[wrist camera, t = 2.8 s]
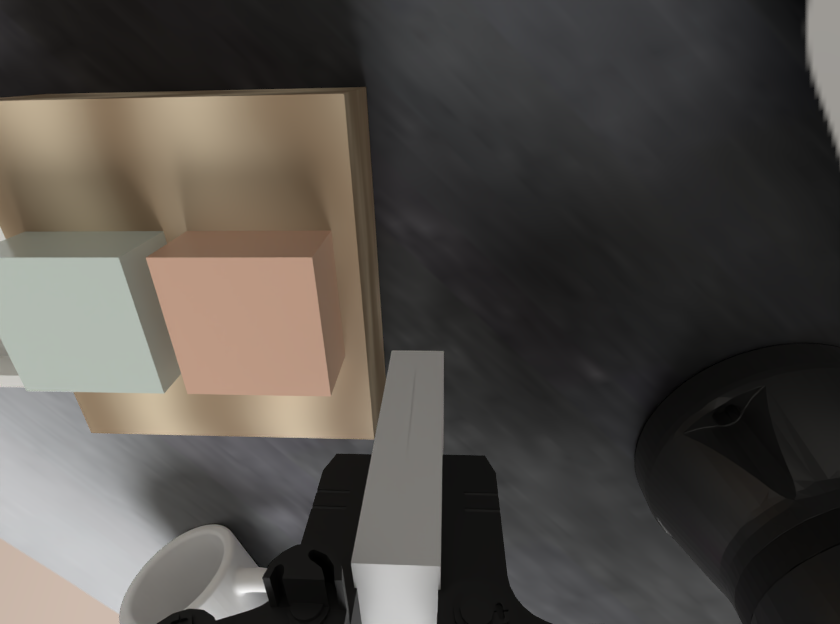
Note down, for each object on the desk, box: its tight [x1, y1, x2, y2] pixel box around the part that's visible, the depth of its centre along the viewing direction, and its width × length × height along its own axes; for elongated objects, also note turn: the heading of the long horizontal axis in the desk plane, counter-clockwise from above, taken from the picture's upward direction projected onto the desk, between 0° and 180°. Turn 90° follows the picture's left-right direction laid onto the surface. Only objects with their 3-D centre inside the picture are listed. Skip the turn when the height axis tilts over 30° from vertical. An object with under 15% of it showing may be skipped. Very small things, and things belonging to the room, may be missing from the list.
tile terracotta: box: [146, 230, 345, 396], centre depth 19 cm, size 6×6×3 cm
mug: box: [119, 524, 269, 624], centre depth 34 cm, size 12×10×8 cm
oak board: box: [0, 87, 386, 439], centre depth 23 cm, size 15×16×5 cm
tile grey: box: [0, 231, 181, 394], centre depth 20 cm, size 6×6×3 cm
